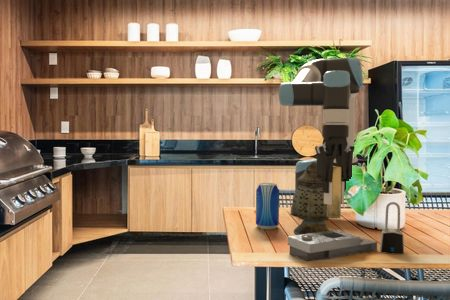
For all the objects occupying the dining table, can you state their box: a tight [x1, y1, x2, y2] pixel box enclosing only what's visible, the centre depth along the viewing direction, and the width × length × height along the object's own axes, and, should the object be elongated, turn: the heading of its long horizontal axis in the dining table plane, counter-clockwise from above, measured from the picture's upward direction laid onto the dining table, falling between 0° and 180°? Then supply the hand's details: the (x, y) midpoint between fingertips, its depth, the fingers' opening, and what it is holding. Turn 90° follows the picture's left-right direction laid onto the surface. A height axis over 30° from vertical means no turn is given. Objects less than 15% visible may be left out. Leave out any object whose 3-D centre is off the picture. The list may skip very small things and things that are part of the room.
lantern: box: [292, 162, 331, 235], centre depth 159 cm, size 14×14×25 cm
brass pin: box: [327, 166, 342, 219], centre depth 135 cm, size 4×4×15 cm
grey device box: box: [287, 229, 378, 262], centre depth 136 cm, size 26×10×6 cm, turn 119°
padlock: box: [379, 201, 405, 255], centre depth 137 cm, size 7×4×15 cm, turn 75°
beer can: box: [255, 182, 280, 230], centre depth 168 cm, size 8×8×16 cm
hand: (333, 203), depth 135 cm, fingers closed on brass pin, 4 cm apart
